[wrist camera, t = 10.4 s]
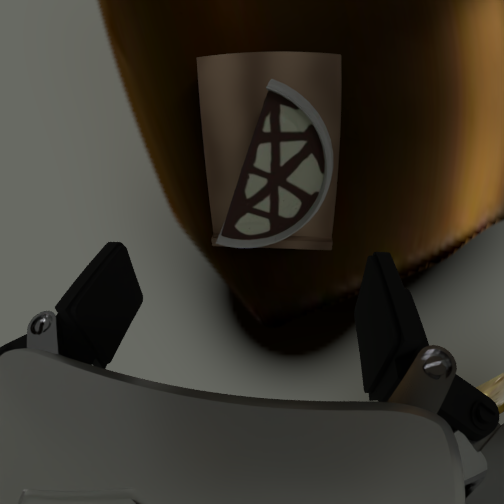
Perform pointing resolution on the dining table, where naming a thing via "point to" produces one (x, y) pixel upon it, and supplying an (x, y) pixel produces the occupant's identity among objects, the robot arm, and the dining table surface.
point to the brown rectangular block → (246, 117)
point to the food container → (280, 172)
